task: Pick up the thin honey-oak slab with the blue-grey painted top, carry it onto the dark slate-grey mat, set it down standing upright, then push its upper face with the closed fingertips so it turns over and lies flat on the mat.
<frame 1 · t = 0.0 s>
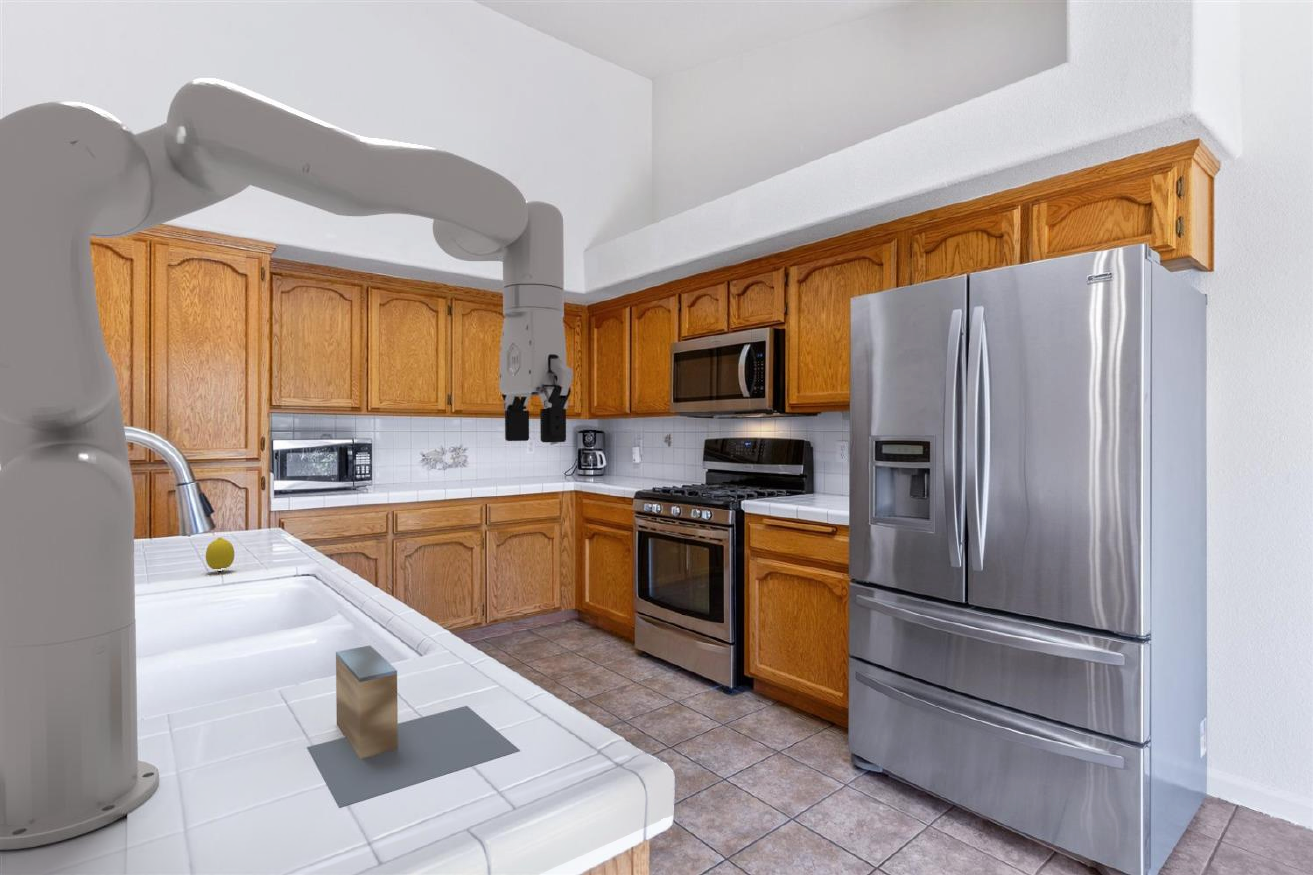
hand: (534, 441, 86), 31 cm above the countertop, tool pointing down, fingers open, 9 cm apart
mat: (413, 752, 70), on the countertop
oak slab: (366, 735, 73), on the countertop, touching mat
lemon: (220, 573, 156), on the countertop
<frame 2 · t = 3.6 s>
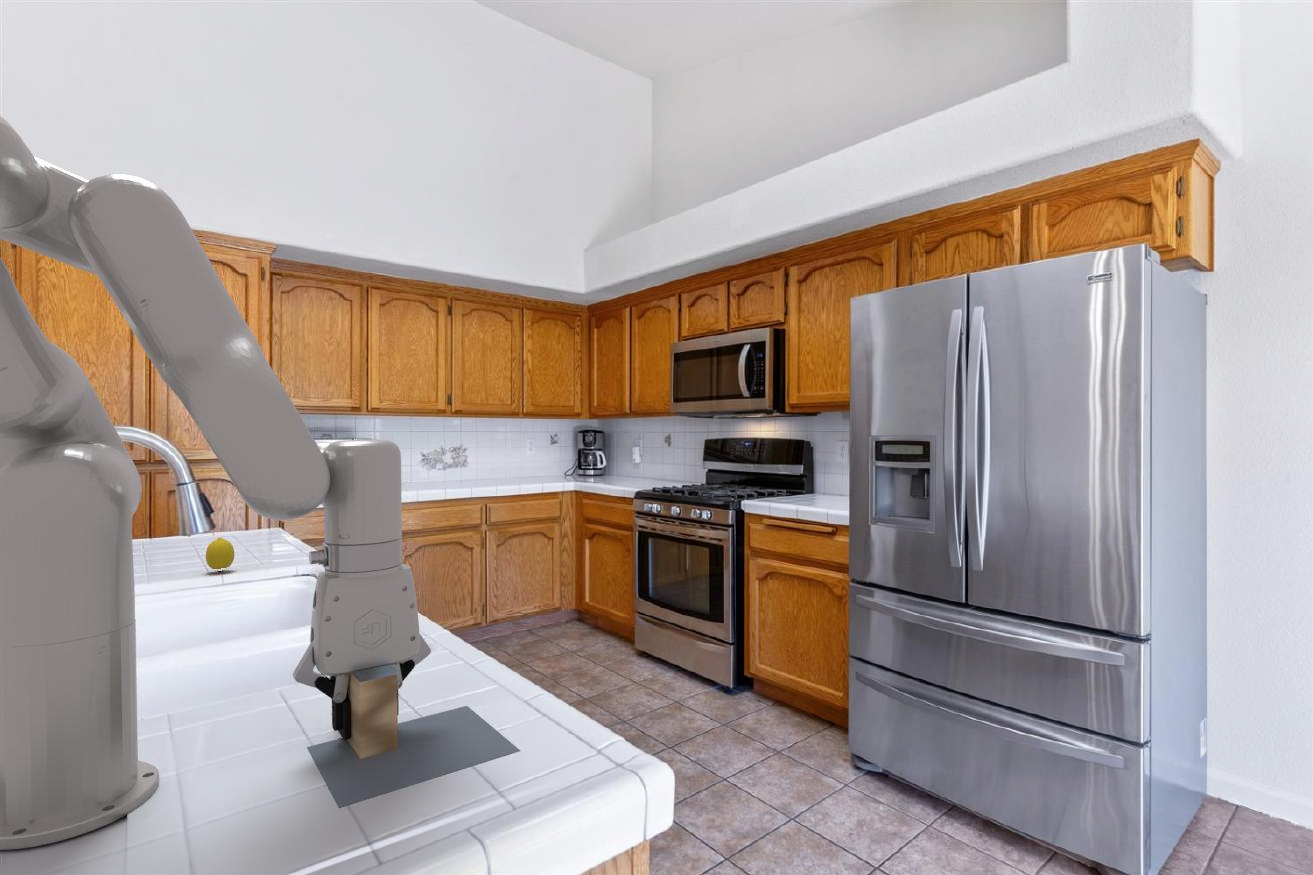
hand: (366, 727, 73), 1 cm above the countertop, tool pointing down, fingers closed on oak slab, 3 cm apart
oak slab: (366, 735, 73), on the countertop, touching gripper, mat
everything else where it was.
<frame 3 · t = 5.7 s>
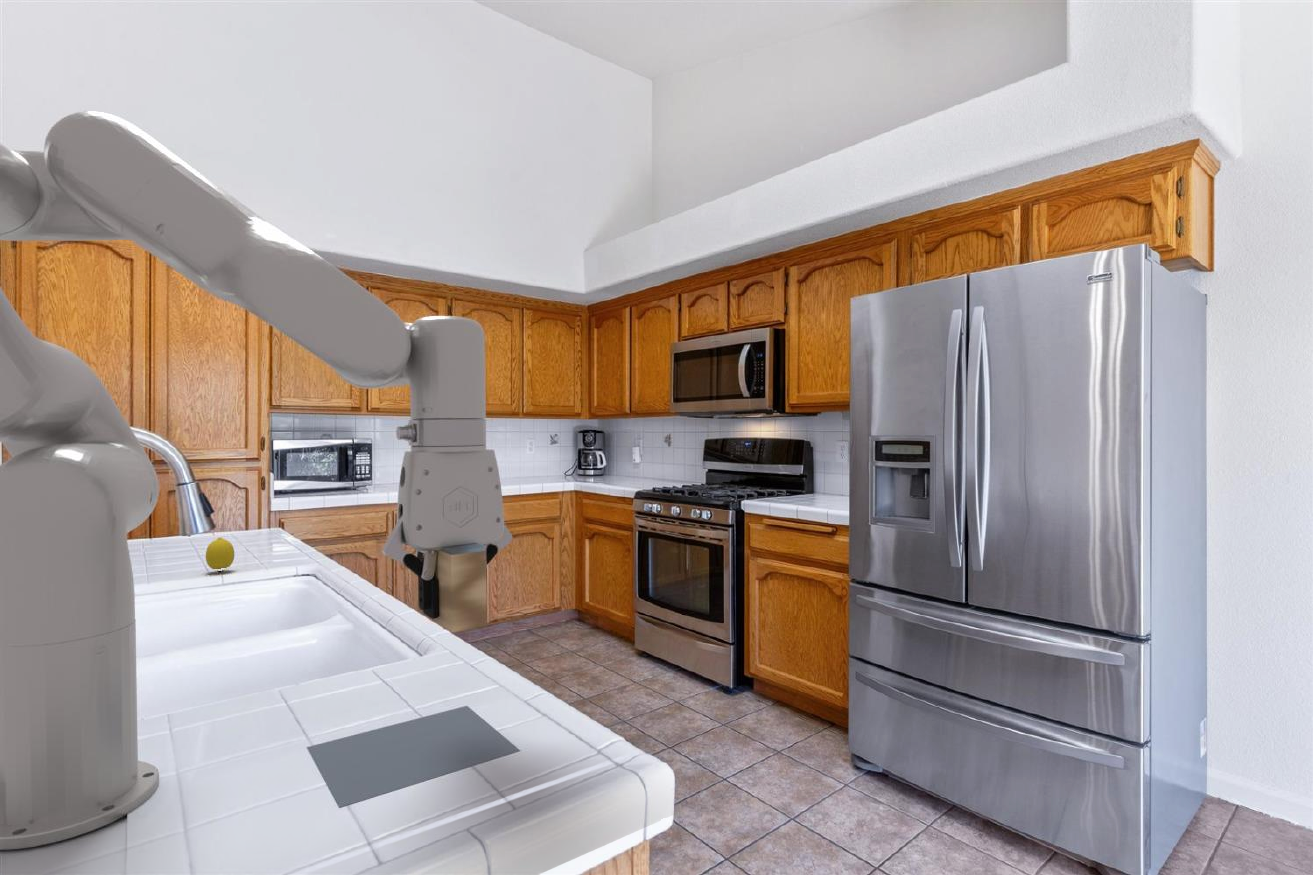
hand: (451, 610, 72), 14 cm above the countertop, tool pointing down, fingers closed on oak slab, 3 cm apart
oak slab: (451, 618, 72), point 13 cm above the countertop, touching gripper
everything else where it was.
when the fingers open (2 cm above the countertop, at t = 7.9 s): oak slab stays where it is, resting on mat.
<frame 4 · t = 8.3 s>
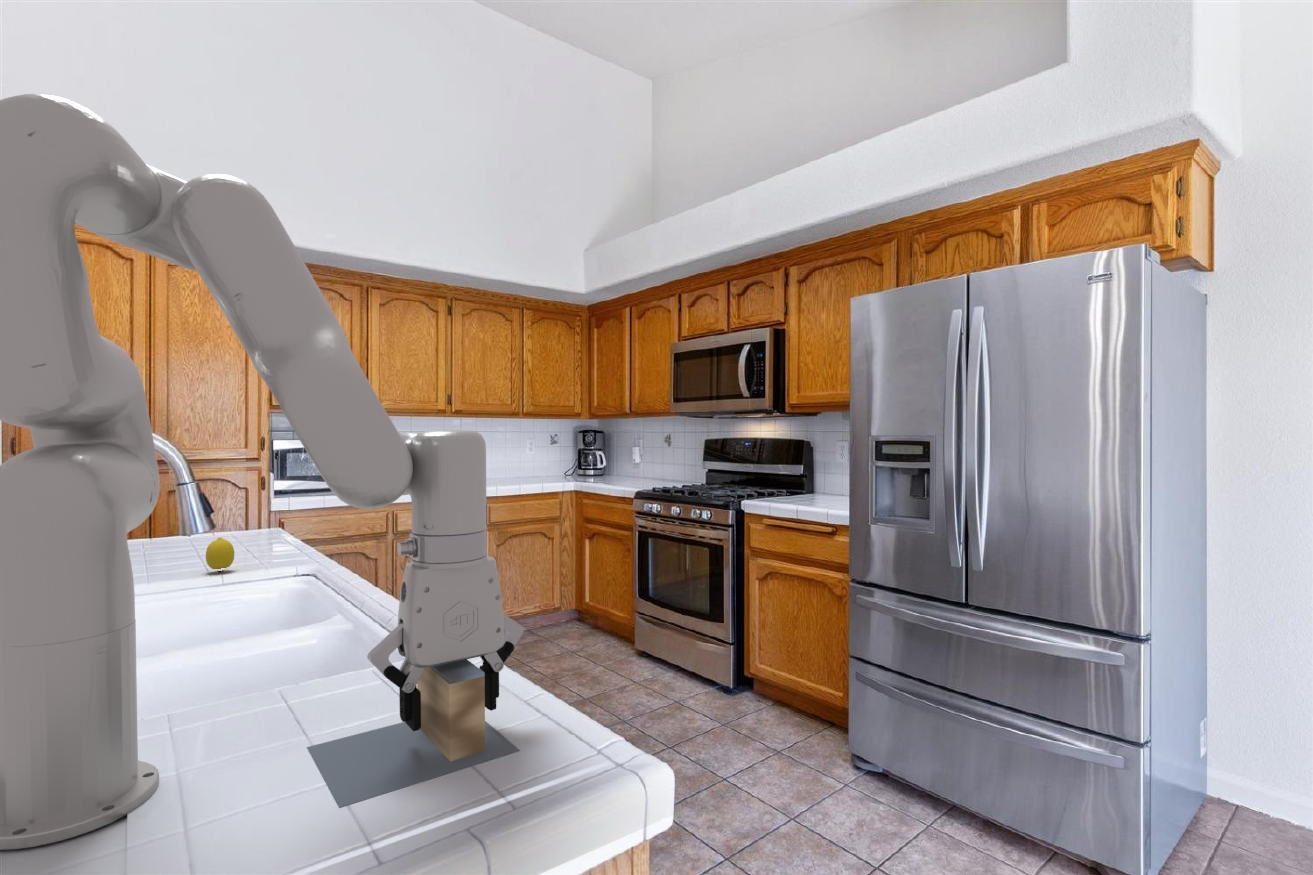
hand: (451, 714, 72), 3 cm above the countertop, tool pointing down, fingers open, 7 cm apart
oak slab: (450, 737, 72), resting on mat
everything else where it was.
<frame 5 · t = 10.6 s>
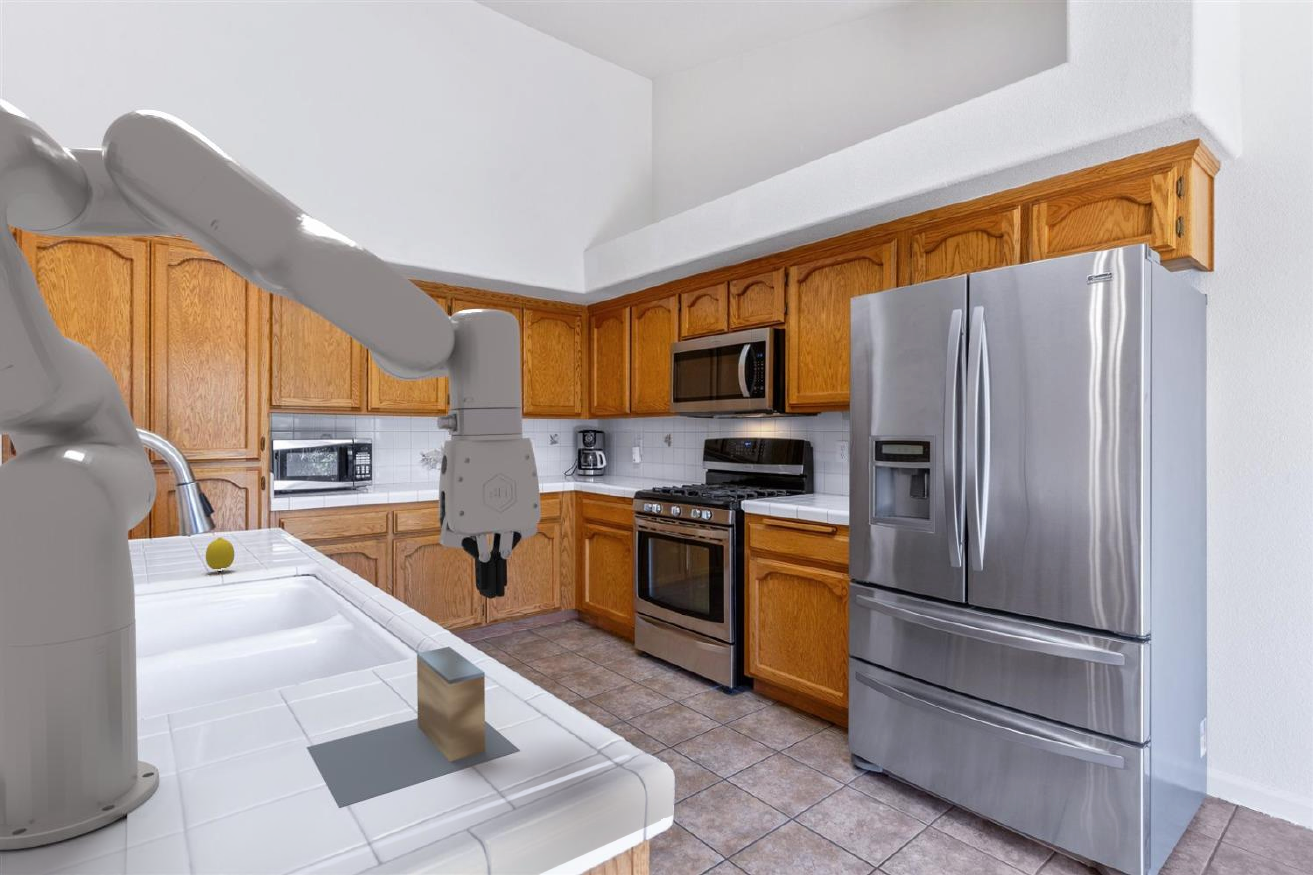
hand: (491, 594, 75), 15 cm above the countertop, tool pointing down, fingers closed
nothing on the countertop moved.
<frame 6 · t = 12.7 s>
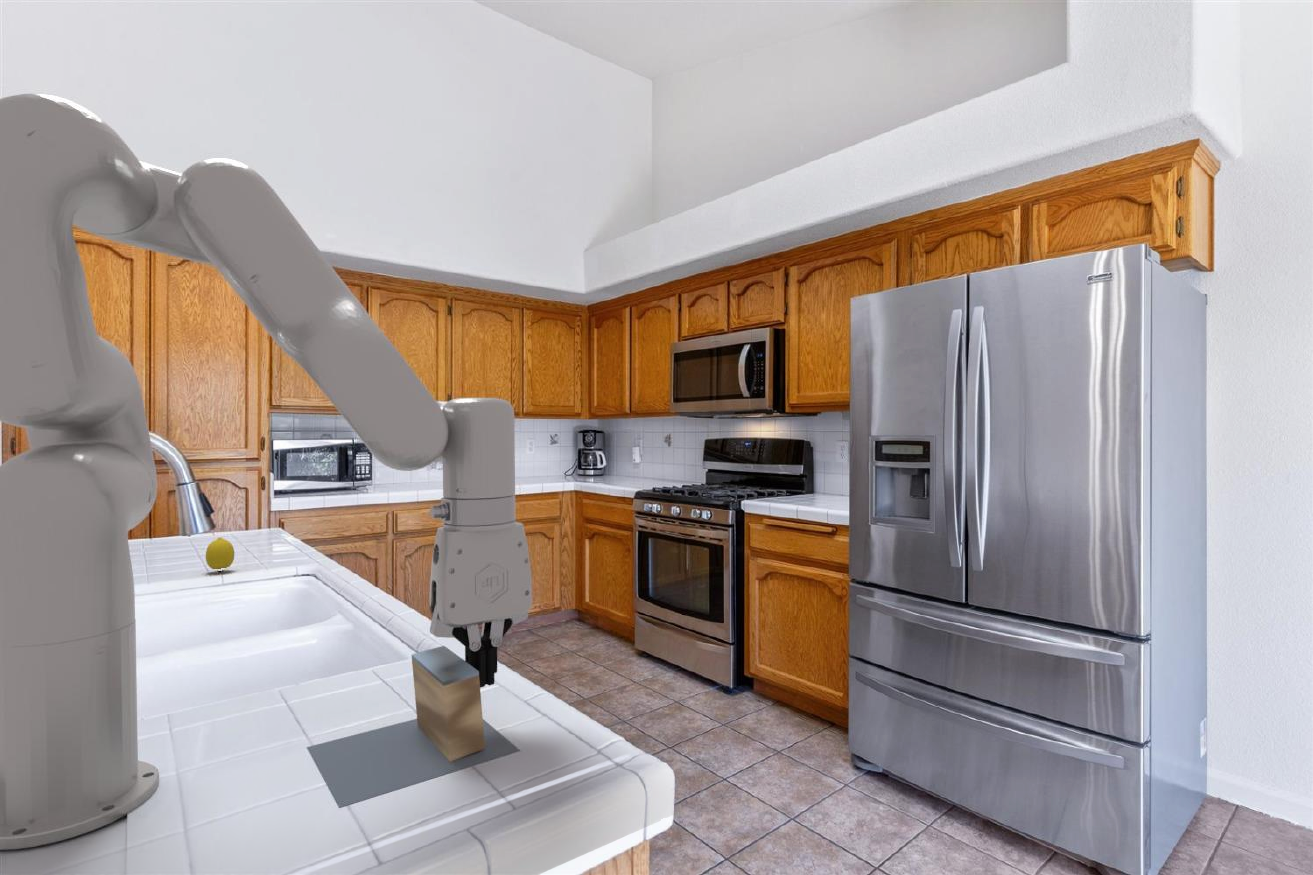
hand: (481, 682, 74), 6 cm above the countertop, tool pointing down, fingers closed
nothing on the countertop moved.
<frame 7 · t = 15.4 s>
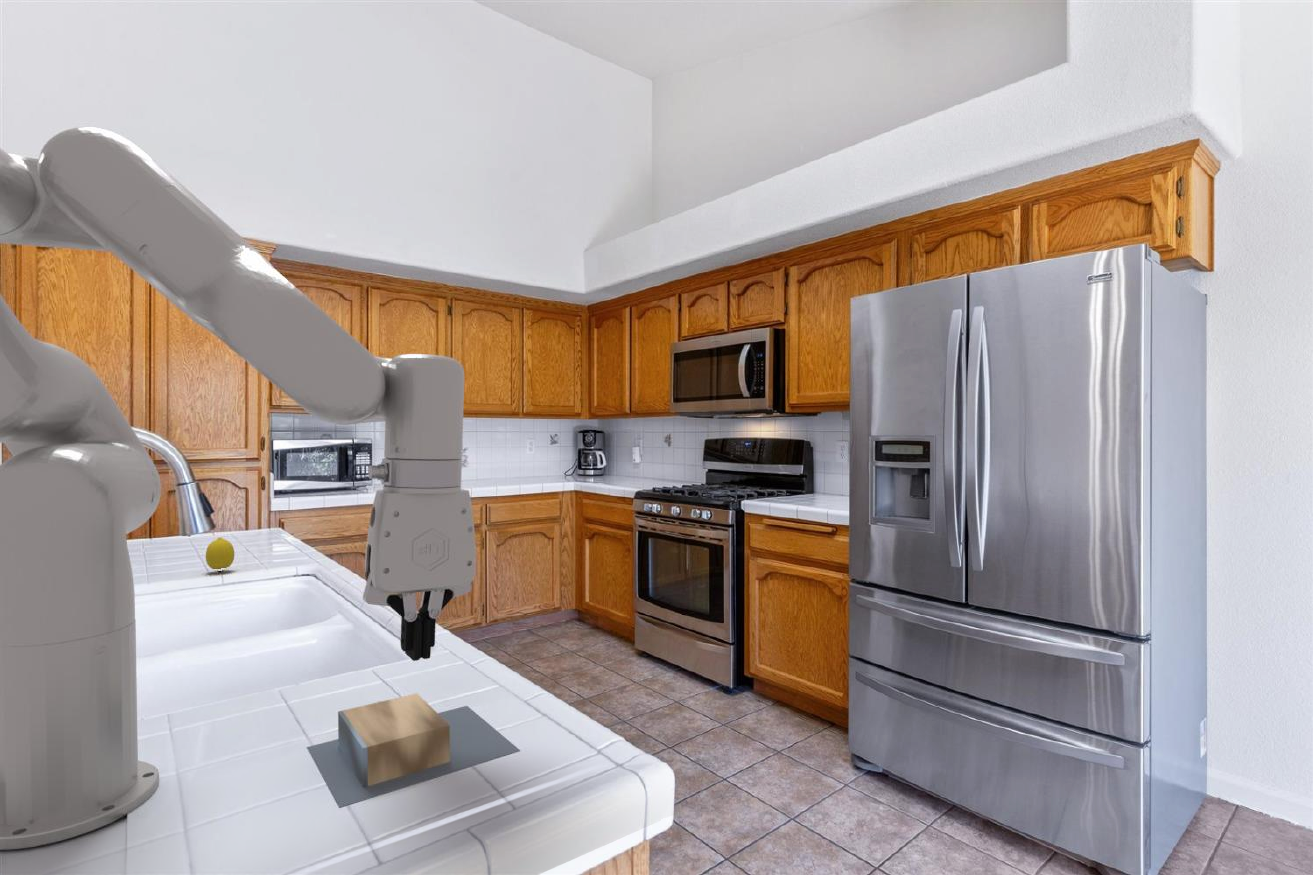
hand: (417, 655, 70), 10 cm above the countertop, tool pointing down, fingers closed
oak slab: (432, 725, 71), point 2 cm above the countertop, tilted 90°, touching mat
everything else where it was.
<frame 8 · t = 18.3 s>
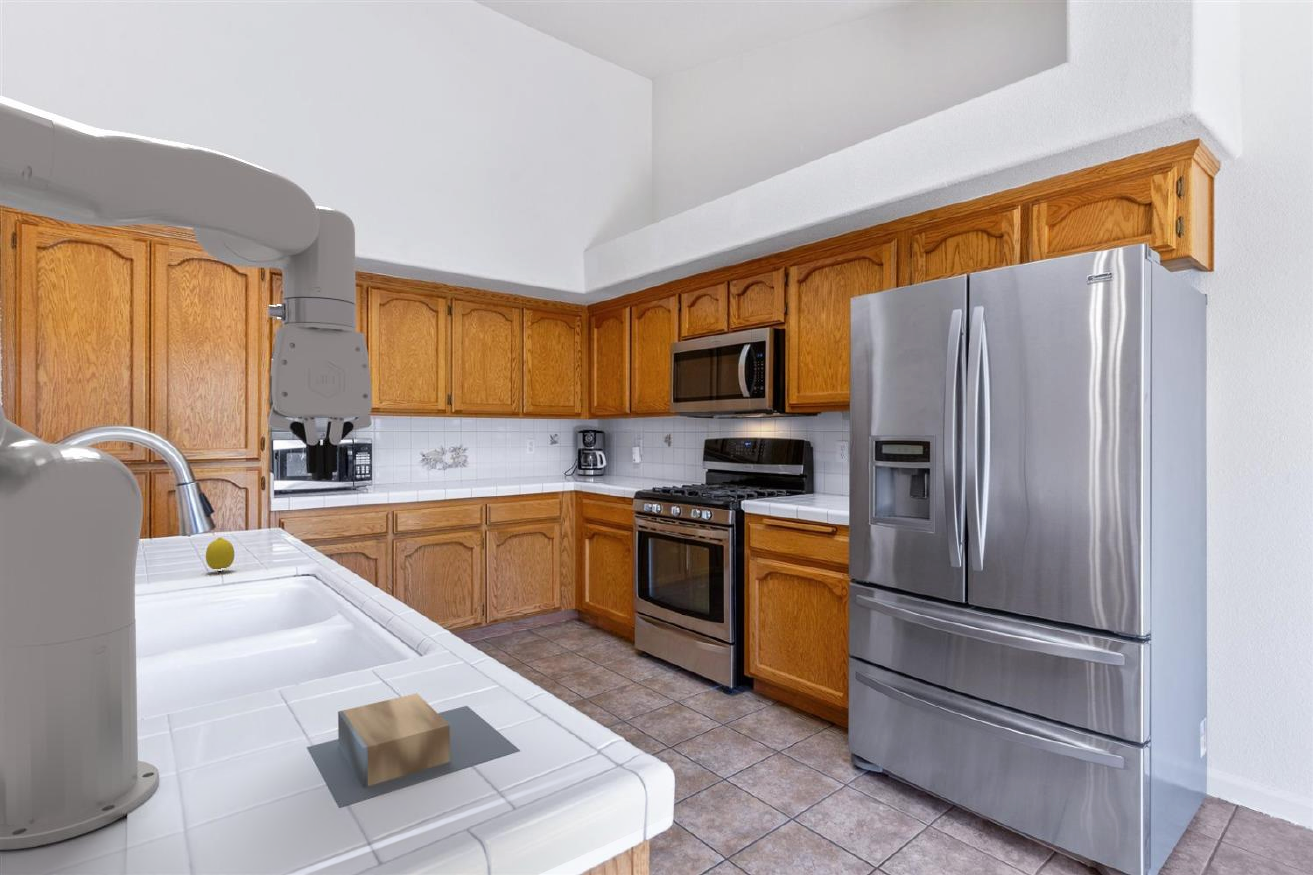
hand: (322, 479, 79), 27 cm above the countertop, tool pointing down, fingers closed
nothing on the countertop moved.
at the end: oak slab tilted 90°; oak slab inside the target area (2.3 cm from its centre), point 2.2 cm above the countertop; the gripper is holding nothing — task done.
